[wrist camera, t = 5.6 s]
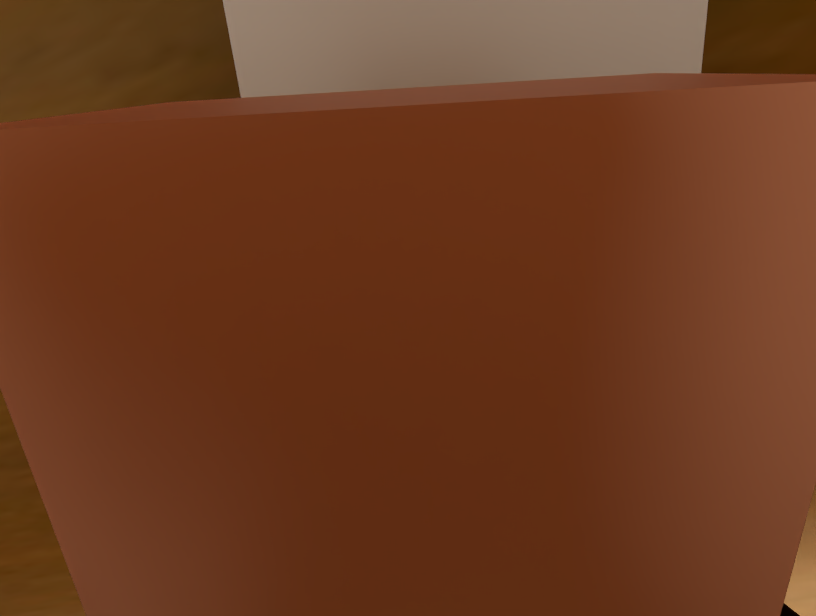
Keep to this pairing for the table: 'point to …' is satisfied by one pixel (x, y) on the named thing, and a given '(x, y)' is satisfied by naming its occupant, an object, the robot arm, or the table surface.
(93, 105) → the table surface
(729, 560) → the terracotta rectangular block
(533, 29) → the book pile base
